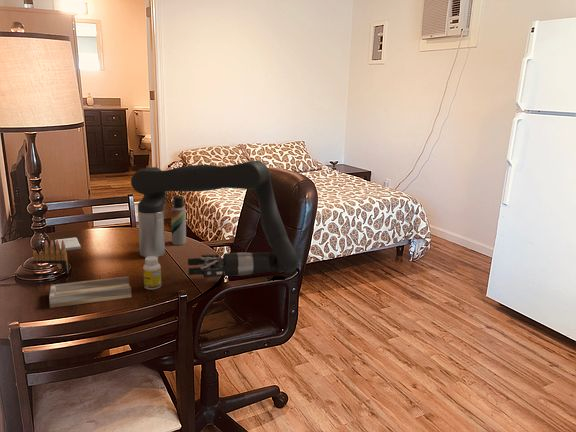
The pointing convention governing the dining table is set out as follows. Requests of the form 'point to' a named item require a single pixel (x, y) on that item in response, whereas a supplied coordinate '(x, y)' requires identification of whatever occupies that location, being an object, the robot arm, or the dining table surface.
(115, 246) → the dining table surface
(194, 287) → the dining table surface
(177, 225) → the lotion bottle
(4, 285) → the dining table surface
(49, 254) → the ammunition clip
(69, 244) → the external hard drive
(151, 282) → the supplement bottle
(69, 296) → the track
